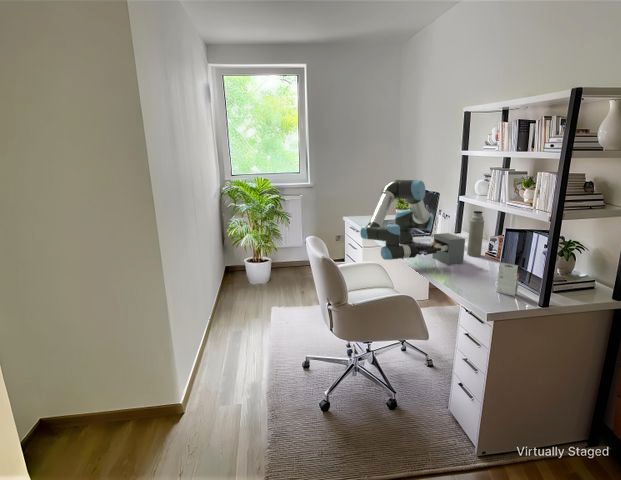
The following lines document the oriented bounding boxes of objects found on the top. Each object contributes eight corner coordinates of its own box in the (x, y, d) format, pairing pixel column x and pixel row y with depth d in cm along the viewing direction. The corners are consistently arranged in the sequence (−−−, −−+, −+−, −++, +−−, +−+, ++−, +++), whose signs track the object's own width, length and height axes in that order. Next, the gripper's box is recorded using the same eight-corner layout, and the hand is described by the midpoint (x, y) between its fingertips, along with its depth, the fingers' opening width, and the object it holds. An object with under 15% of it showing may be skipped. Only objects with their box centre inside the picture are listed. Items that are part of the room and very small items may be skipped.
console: (432, 257, 229) (434, 234, 226) (446, 256, 232) (448, 233, 228) (448, 265, 214) (450, 239, 211) (463, 263, 217) (465, 238, 213)
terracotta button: (430, 246, 225) (430, 241, 225) (438, 245, 227) (438, 240, 226) (433, 247, 222) (433, 242, 222) (440, 246, 224) (441, 241, 223)
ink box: (498, 290, 175) (501, 260, 172) (517, 294, 170) (520, 263, 166) (496, 292, 172) (499, 262, 169) (514, 296, 167) (518, 265, 164)
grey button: (435, 248, 221) (435, 243, 220) (442, 247, 222) (443, 242, 221) (438, 249, 218) (438, 244, 217) (445, 248, 219) (446, 243, 219)
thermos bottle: (466, 253, 239) (470, 210, 233) (479, 253, 237) (484, 210, 231) (467, 256, 232) (472, 212, 225) (481, 257, 230) (486, 212, 223)
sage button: (442, 249, 217) (443, 244, 216) (450, 249, 218) (450, 244, 217) (445, 251, 214) (446, 246, 213) (453, 250, 215) (454, 245, 215)
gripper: (401, 254, 216) (437, 251, 222) (413, 260, 204) (450, 257, 209) (402, 242, 214) (438, 239, 220) (414, 247, 202) (451, 244, 208)
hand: (444, 248), depth 215 cm, fingers closed
